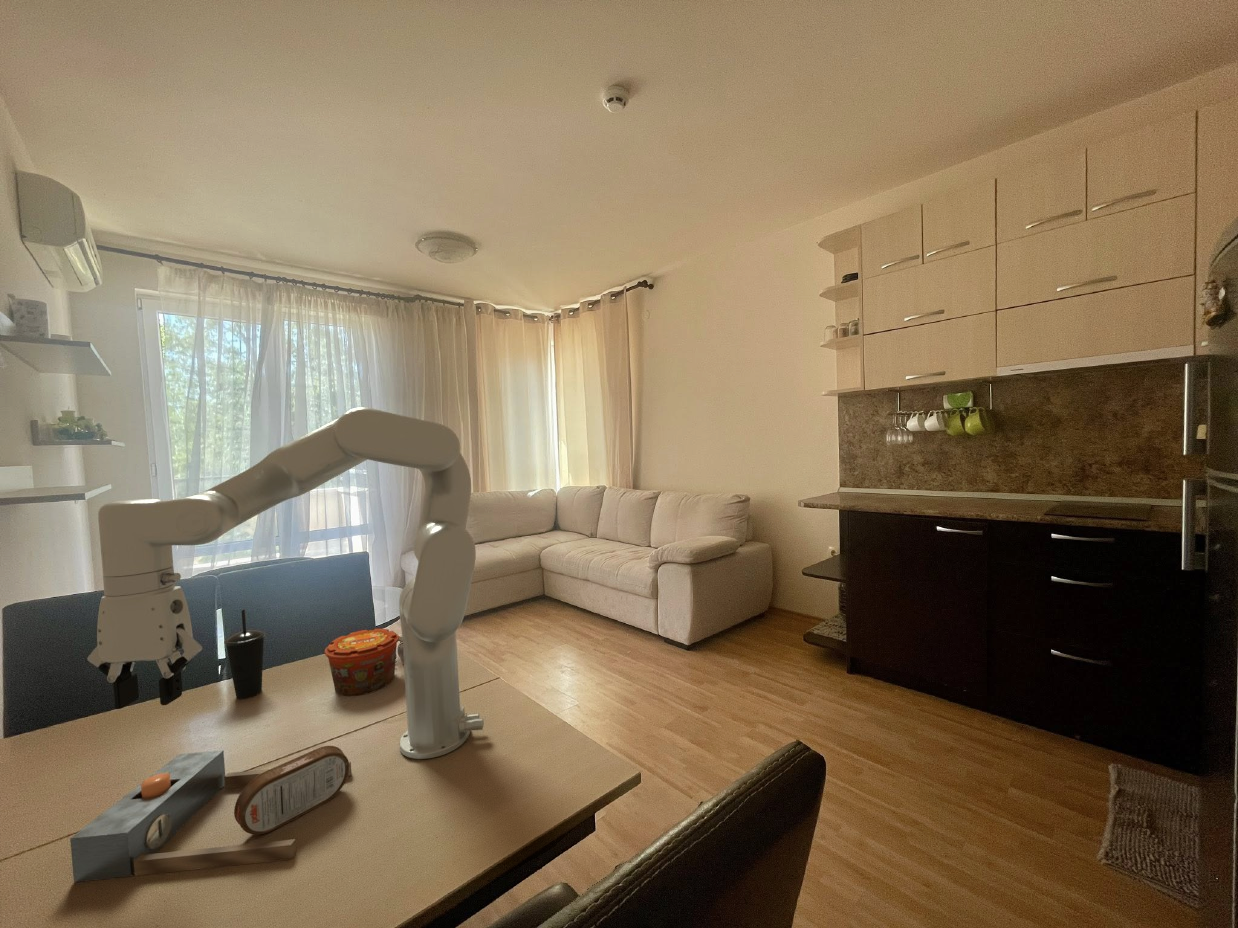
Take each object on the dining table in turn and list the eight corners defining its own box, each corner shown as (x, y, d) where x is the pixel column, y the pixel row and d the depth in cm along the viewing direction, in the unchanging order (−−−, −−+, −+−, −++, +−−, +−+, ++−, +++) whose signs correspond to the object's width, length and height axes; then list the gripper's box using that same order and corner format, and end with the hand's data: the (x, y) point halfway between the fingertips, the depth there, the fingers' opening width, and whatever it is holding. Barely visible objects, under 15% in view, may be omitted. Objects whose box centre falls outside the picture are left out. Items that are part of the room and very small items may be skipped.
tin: (345, 783, 83) (342, 734, 83) (353, 790, 81) (350, 740, 81) (235, 840, 72) (231, 783, 71) (241, 851, 70) (237, 792, 69)
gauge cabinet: (228, 784, 84) (226, 749, 84) (134, 875, 66) (131, 832, 66) (181, 788, 83) (179, 753, 83) (73, 881, 65) (70, 838, 65)
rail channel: (351, 772, 86) (350, 761, 86) (291, 858, 68) (291, 844, 68) (229, 784, 84) (228, 772, 84) (134, 875, 66) (133, 861, 66)
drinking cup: (236, 689, 119) (231, 607, 118) (273, 683, 121) (268, 603, 120) (222, 704, 112) (215, 617, 111) (261, 698, 114) (255, 612, 113)
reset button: (177, 790, 76) (175, 771, 76) (159, 805, 73) (158, 785, 73) (154, 792, 76) (153, 773, 76) (136, 807, 73) (134, 787, 73)
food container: (336, 707, 108) (333, 659, 108) (320, 683, 120) (317, 640, 120) (411, 682, 119) (408, 638, 119) (389, 662, 131) (386, 622, 130)
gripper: (219, 572, 78) (227, 685, 78) (101, 579, 76) (111, 694, 77) (182, 586, 70) (191, 710, 71) (50, 594, 69) (61, 721, 70)
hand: (149, 701), depth 74 cm, fingers open, 5 cm apart
